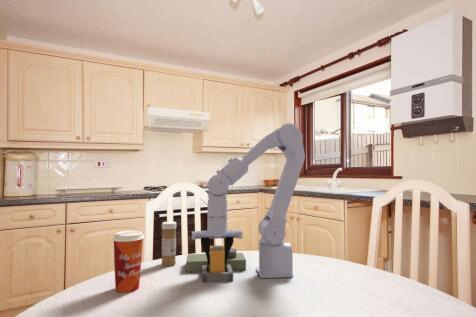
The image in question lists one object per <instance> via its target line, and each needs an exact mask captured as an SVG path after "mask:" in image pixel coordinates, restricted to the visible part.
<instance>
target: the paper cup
mask: <svg viewBox="0 0 476 317" xmlns="http://www.w3.org/2000/svg"><path fill="white" fill-rule="evenodd" d="M144 238H145V235H144V233H143V231H141V230H123V231H117V232H115V233H114V235H113V237H112V241H113V257H114V259H113V262H114V263H113V264H114V282H115V283H114V284H115V292H117V293H119V294H127V293H128V294H129V293H132V292H135V291H137V290H138V289H139V288H140V279H141V269H142V268H141V267H142V256H143V255H142V254H143V243H144Z"/></svg>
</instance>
